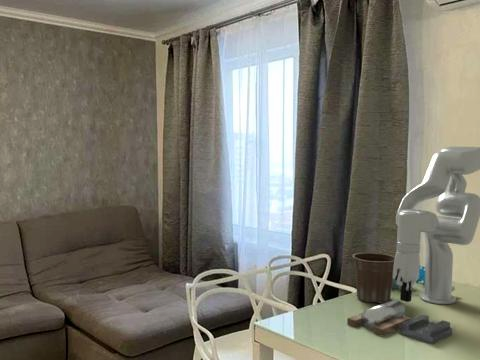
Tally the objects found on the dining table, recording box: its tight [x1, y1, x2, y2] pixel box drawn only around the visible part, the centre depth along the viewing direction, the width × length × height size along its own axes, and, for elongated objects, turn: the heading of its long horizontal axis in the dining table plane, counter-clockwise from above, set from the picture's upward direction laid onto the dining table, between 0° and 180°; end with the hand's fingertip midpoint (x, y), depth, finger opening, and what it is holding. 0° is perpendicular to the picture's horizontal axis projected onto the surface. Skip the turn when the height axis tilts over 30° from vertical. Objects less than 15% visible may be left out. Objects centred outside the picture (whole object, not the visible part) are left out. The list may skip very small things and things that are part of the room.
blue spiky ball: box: [415, 265, 425, 286], centre depth 211 cm, size 11×6×10 cm
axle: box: [361, 299, 406, 330], centre depth 164 cm, size 16×6×6 cm, turn 131°
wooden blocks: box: [346, 312, 412, 337], centre depth 162 cm, size 16×13×2 cm
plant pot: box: [352, 252, 395, 304], centre depth 189 cm, size 16×16×16 cm
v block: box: [398, 314, 453, 345], centre depth 154 cm, size 12×11×4 cm
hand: (405, 300), depth 172 cm, fingers closed
